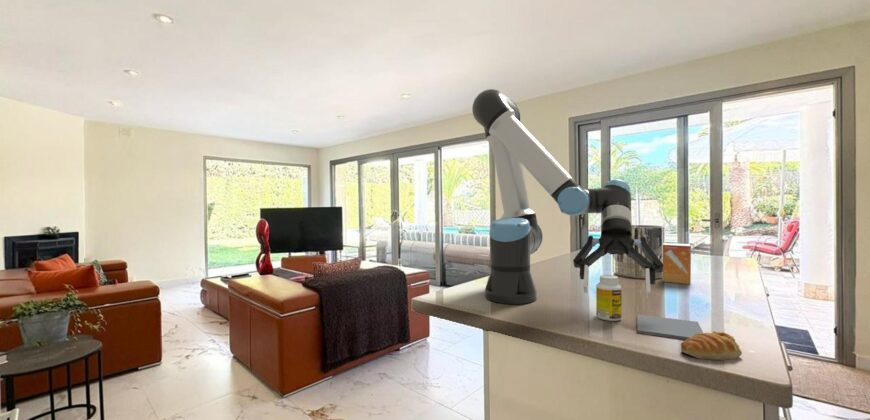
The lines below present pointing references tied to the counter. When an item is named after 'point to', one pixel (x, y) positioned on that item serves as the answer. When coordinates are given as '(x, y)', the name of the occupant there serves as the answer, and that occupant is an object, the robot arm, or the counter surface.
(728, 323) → the counter surface
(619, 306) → the supplement bottle
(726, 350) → the pastry
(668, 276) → the small box
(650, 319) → the mat
